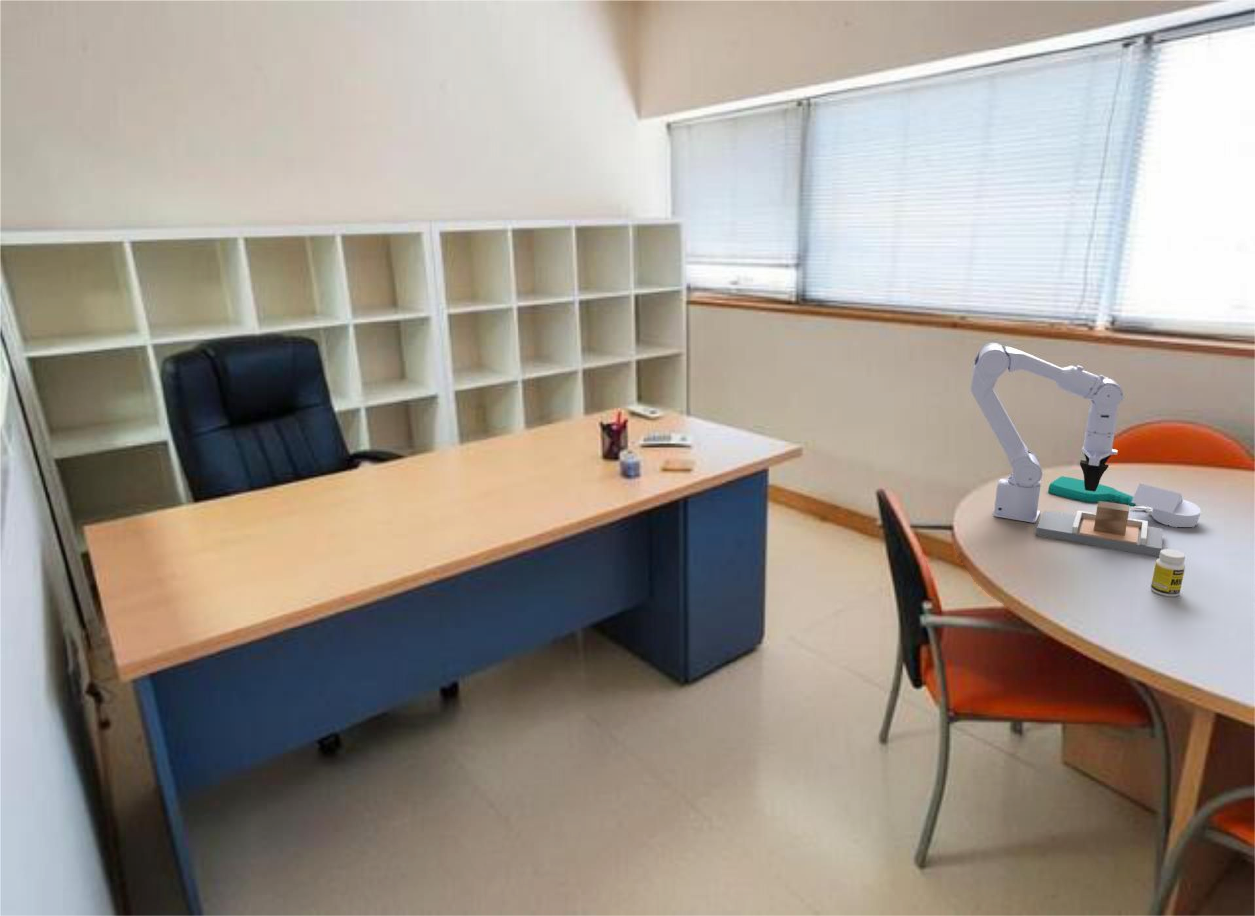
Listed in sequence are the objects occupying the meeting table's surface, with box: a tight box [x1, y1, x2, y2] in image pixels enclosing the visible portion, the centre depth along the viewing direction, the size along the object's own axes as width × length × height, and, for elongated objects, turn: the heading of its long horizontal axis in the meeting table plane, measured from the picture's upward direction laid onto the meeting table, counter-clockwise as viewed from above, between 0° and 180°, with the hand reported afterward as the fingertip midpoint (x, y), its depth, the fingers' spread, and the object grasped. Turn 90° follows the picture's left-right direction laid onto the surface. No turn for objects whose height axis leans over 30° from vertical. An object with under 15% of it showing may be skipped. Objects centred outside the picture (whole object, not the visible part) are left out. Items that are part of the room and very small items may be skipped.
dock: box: [1035, 509, 1164, 557], centre depth 172 cm, size 24×12×4 cm, turn 55°
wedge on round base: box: [1131, 483, 1202, 528], centre depth 179 cm, size 9×7×13 cm
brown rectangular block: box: [1094, 501, 1131, 536], centre depth 169 cm, size 6×4×6 cm, turn 55°
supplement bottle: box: [1150, 548, 1186, 598], centre depth 147 cm, size 5×5×8 cm
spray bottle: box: [1048, 476, 1153, 516], centre depth 193 cm, size 3×11×24 cm
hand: (1091, 485), depth 178 cm, fingers open, 7 cm apart
